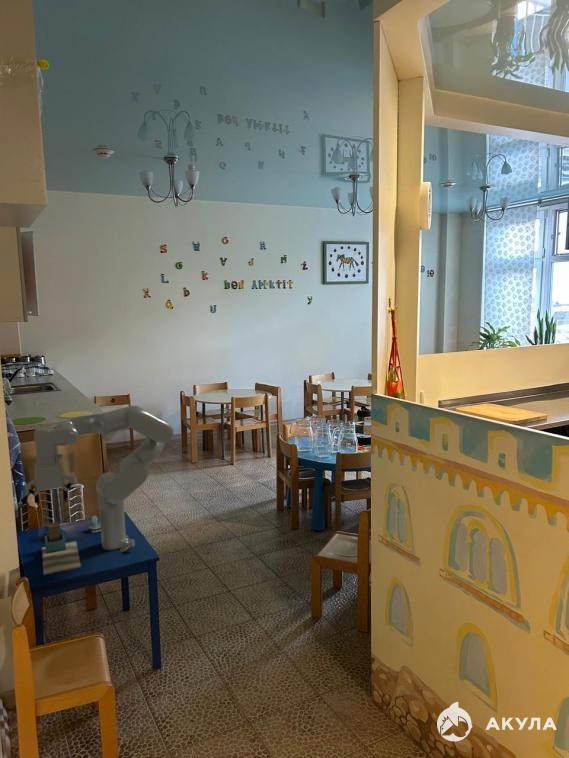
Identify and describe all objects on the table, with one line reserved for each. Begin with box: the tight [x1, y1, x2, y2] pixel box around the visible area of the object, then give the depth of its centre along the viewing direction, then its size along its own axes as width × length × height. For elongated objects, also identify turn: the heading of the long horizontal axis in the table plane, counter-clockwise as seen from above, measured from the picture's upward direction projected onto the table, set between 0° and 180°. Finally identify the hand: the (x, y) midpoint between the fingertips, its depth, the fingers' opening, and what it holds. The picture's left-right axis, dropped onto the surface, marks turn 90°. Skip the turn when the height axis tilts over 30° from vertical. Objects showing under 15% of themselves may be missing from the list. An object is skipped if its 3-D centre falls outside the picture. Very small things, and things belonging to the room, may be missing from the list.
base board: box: [41, 540, 82, 576], centre depth 221 cm, size 24×13×2 cm, turn 24°
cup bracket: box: [44, 532, 66, 554], centre depth 223 cm, size 14×7×10 cm, turn 24°
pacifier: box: [86, 515, 101, 534], centre depth 248 cm, size 7×6×6 cm
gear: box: [45, 520, 68, 536], centre depth 243 cm, size 11×6×10 cm
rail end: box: [47, 521, 61, 541], centre depth 219 cm, size 4×4×9 cm
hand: (51, 502), depth 217 cm, fingers open, 9 cm apart
